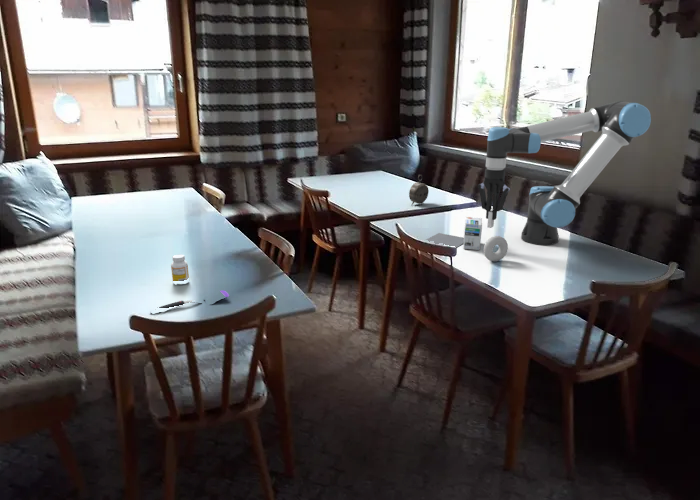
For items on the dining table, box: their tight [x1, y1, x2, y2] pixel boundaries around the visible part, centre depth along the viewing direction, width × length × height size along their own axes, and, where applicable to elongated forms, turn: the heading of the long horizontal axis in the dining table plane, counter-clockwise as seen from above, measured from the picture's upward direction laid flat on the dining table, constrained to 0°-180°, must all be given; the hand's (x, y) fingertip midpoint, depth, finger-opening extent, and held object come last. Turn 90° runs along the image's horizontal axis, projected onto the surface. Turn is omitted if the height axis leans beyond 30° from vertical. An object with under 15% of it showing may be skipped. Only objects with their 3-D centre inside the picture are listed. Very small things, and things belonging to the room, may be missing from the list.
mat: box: [425, 232, 464, 248], centre depth 236 cm, size 15×16×1 cm
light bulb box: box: [462, 216, 483, 251], centre depth 228 cm, size 11×7×11 cm, turn 168°
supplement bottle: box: [170, 254, 190, 282], centre depth 190 cm, size 5×5×10 cm
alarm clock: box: [408, 174, 429, 206], centre depth 294 cm, size 11×5×16 cm, turn 130°
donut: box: [483, 235, 509, 262], centre depth 211 cm, size 10×4×10 cm, turn 109°
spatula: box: [158, 290, 230, 308], centre depth 174 cm, size 24×7×2 cm, turn 120°
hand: (490, 226), depth 223 cm, fingers closed
